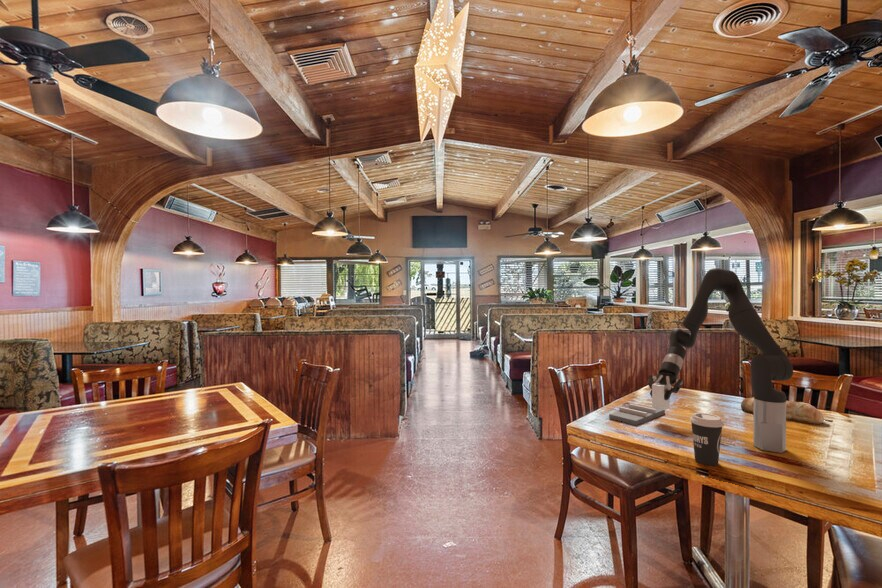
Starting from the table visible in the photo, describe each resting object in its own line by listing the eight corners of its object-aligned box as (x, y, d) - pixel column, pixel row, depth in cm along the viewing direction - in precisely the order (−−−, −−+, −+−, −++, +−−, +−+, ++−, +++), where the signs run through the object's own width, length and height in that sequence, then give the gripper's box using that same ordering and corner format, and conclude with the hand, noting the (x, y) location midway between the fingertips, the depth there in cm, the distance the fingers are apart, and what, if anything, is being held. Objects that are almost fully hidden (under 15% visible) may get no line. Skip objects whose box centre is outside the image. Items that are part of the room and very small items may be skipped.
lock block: (669, 408, 180) (669, 384, 180) (664, 410, 177) (663, 386, 177) (657, 405, 184) (657, 382, 184) (652, 407, 181) (651, 384, 181)
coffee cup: (694, 453, 146) (694, 410, 146) (727, 461, 139) (727, 416, 139) (685, 461, 139) (685, 416, 139) (719, 470, 133) (719, 422, 132)
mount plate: (664, 413, 192) (664, 405, 192) (636, 425, 176) (635, 417, 176) (638, 408, 202) (638, 400, 202) (609, 418, 186) (609, 410, 186)
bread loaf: (730, 415, 193) (730, 395, 192) (734, 405, 206) (735, 386, 205) (834, 435, 170) (836, 412, 170) (832, 422, 184) (833, 401, 183)
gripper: (651, 359, 191) (638, 389, 183) (686, 362, 180) (673, 395, 172) (657, 369, 194) (645, 399, 187) (691, 373, 183) (679, 406, 175)
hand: (658, 397), depth 180 cm, fingers closed on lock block, 5 cm apart
